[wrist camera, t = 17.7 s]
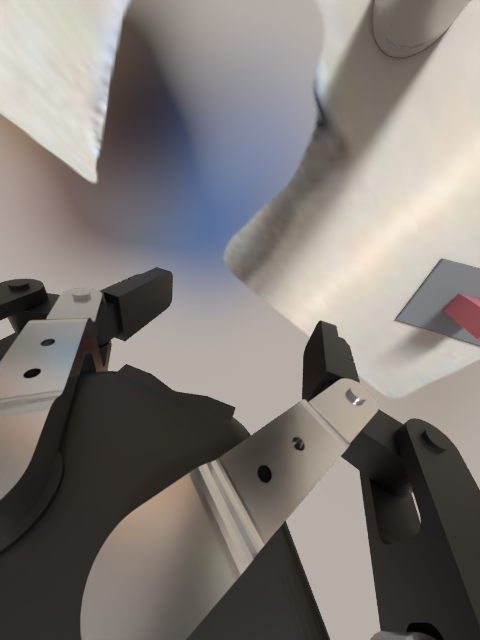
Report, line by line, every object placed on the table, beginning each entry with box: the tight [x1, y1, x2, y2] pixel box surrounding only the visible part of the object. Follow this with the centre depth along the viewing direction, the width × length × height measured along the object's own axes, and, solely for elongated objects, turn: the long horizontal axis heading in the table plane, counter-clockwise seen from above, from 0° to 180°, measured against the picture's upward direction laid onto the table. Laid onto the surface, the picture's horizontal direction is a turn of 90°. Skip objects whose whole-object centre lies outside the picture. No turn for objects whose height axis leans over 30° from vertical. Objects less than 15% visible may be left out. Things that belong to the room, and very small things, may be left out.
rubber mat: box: [396, 259, 480, 345], centre depth 35 cm, size 12×16×1 cm
